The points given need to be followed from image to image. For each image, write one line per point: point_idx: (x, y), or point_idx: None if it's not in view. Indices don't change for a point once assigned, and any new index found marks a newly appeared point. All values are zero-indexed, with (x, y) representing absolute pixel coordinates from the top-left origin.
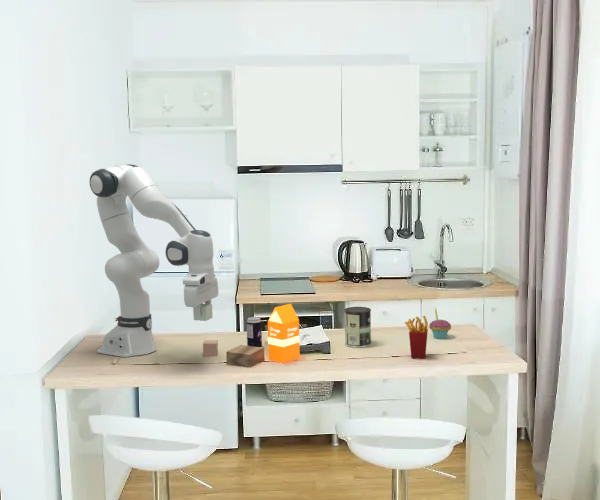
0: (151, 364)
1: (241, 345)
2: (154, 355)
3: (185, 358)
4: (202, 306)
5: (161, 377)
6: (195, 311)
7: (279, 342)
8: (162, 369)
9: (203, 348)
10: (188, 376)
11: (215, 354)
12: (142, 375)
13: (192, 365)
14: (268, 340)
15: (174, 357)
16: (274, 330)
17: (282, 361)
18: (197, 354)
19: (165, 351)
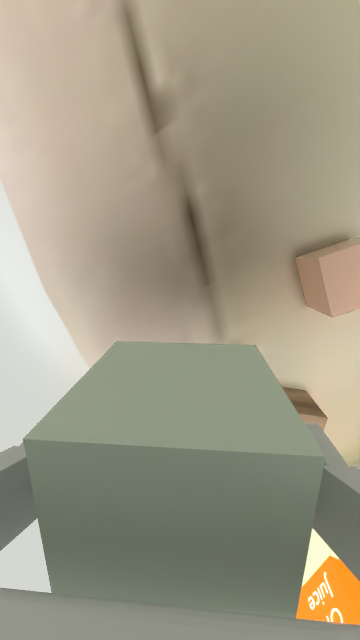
0: (144, 94)
1: (319, 422)
2: (276, 13)
3: (255, 198)
4: (78, 579)
5: (23, 232)
6: (12, 450)
7: None
8: (100, 183)
9: (308, 259)
10: (66, 314)
11: (308, 302)
12: (14, 147)
13: (176, 271)
14: (321, 539)
15: (261, 140)
16: None
17: None
18: (320, 219)
19: (353, 29)
